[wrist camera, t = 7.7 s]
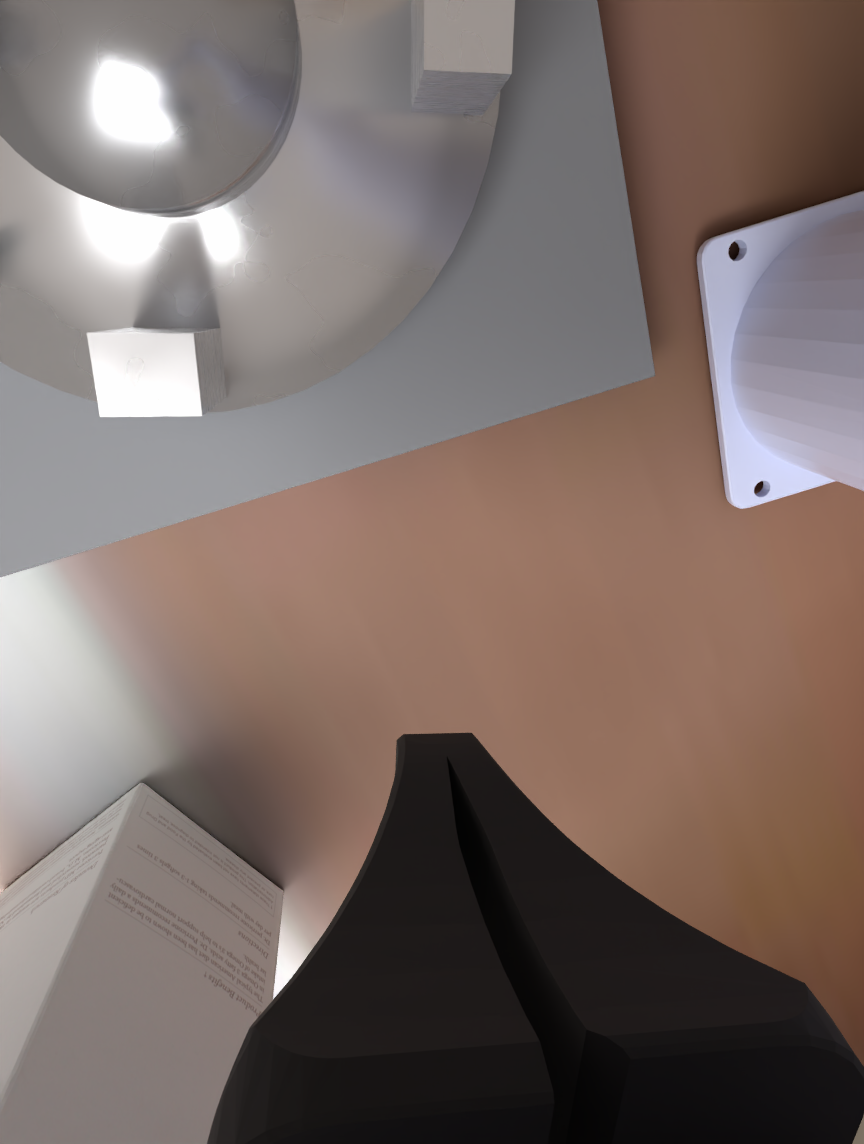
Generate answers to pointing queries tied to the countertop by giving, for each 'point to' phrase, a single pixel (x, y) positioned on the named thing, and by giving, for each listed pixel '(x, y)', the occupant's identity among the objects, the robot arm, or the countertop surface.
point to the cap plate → (405, 356)
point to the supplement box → (130, 979)
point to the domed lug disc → (231, 186)
